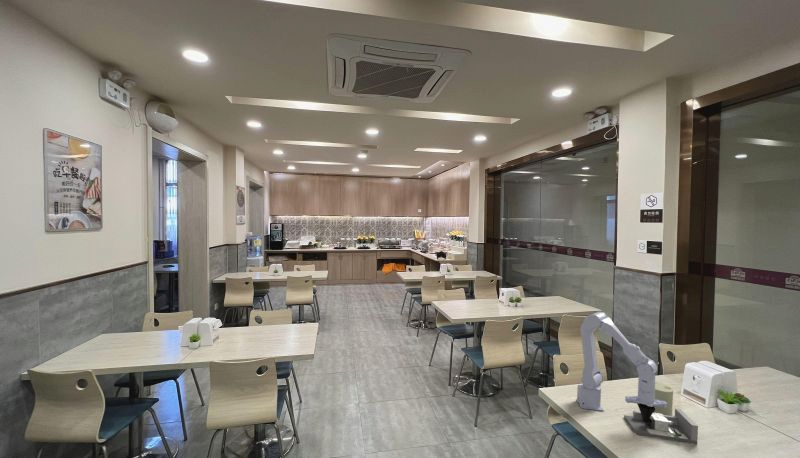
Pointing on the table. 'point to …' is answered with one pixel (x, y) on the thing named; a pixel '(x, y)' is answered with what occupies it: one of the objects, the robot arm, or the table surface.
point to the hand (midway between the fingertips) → (645, 421)
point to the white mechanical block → (660, 423)
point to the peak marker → (677, 432)
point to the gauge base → (681, 424)
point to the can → (664, 398)
